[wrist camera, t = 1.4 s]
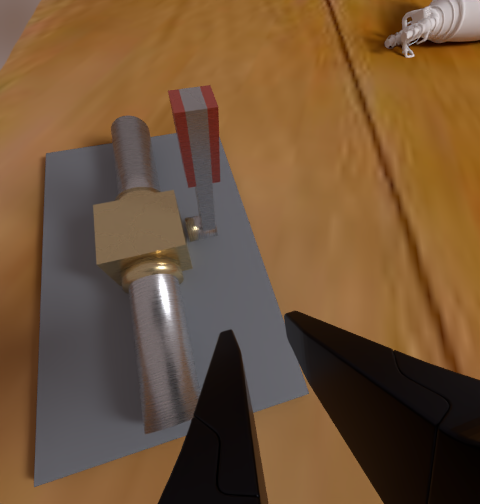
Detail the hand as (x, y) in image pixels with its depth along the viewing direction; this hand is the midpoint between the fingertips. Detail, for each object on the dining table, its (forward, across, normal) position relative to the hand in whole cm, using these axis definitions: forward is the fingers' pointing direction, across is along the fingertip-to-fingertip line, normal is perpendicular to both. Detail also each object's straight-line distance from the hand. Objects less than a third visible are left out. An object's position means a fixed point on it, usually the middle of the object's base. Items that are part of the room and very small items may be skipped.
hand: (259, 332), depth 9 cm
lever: (+15, 0, 0) cm, 15 cm away
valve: (+17, +5, +2) cm, 18 cm away
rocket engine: (+37, -43, -18) cm, 60 cm away
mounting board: (+17, +5, +2) cm, 18 cm away
